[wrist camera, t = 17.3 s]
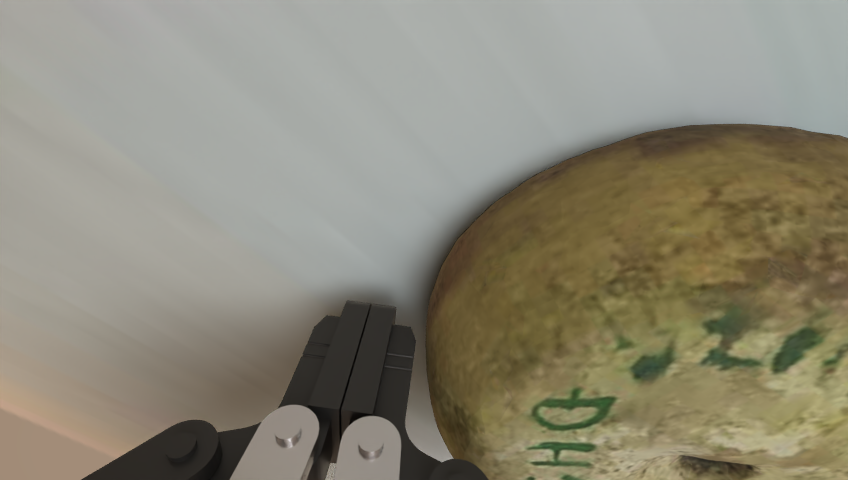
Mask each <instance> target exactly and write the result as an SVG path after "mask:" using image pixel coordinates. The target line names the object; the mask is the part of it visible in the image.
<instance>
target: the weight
mask: <svg viewBox="0 0 848 480" xmlns="http://www.w3.org/2000/svg"><path fill="white" fill-rule="evenodd" d="M426 364H427V377H428V384H429V391H430V399H431V404H432V408H433V413H434V417H435V420H436V423H437V427H438V429H439V432H440V434H441V436H442V438H443V440H444V442H445V444H446V446H447V448H448V450H449V452H450V453H451V455H452V456H453V458H454V459H462V460H466V461H469V462H471V463H473V464H474V465H476V466H477V467H478V468H479V469H481V470H482V472H483V473H484V474H485V475H486V477H487V478H488V480H848V138H846V137H843V136H839V135H832V134H824V133H816V132H810V131H805V130H801V129H796V128H792V127H781V126H769V125H754V124H710V125H689V126H682V127H676V128H670V129H664V130H658V131H652V132H646V133H643V134H640V135H637V136H633V137H630V138H627V139H624V140H622V141H619V142H616V143H614V144H611V145H608V146H604V147H601V148H598V149H594V150H591V151H589V152H586V153H584V154H581V155H579V156H577V157H574V158H571V159H568V160H566V161H564V162H562V163H560V164H558V165H556V166H554V167H552V168H550V169H548V170H545V171H543V172H540V173H539V174H537V175H535V176H533V177H532V178H530V179H528V180H527V181H525V182H524V183H522V184H521V185H520V186H518V187H517V188H515V189H514V190H513V191H511V192H510V193H508V194H506V195H505V196H503V197H502V198H501V199H499V200H498V201H496V202H495V203H494V204H492V205H491V206H490V207H489V208H488V209H487V210H486V211H485V212H484V213H483V214H482V215H481V216H480V217H478V218H477V219H476V221H475V222H474V223H473V224H472V225H471V226H470V227H469V228H468V229H467V230H466V231H465V232H464V233H463V234H462V235H461V236H460V237H459V238H458V239H457V241H456V243H455V244H454V246H453V248H452V249H451V251H450V253H449V254H448V256H447V258H446V259H445V261H444V263H443V265H442V266H441V269H440V272H439V275H438V277H437V280H436V283H435V286H434V288H433V291H432V294H431V298H430V302H429V306H428V314H427V322H426Z"/></svg>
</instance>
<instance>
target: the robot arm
mask: <svg viewBox="0 0 848 480" xmlns="http://www.w3.org/2000/svg"><path fill="white" fill-rule="evenodd" d="M395 318H396V307H392V306H384V305H377V304H369V303H362V302H355V301H347V302H346V304H345V307H344V309H343V312H342V315H341V317H335V316H328V315H327V316H326V317H325V318H324V319H323V320H321V321H320V322H319V323H318V324H317V325H316V326H315V327H314V329H313V332H312V334H311V336H310V338H309V341H308V344H307V345H306V348H305V350H304V352H303V356H302V357H301V359H300V361H299V364H298V366H297V368H296V370H295V373H294V375H293V377H292V380H291V382H290V384H289V386H288V389H287V391H286V393H285V396H284V398H283V400H282V402H281V404H280V406H279V407H278V408H277V409H276V410H274V411H273V412H271V413H270V414H269V415H267V416H266V417H265V418H264V420H263V421H262V422H260V423H258V424H256V425H253V426H251V427H247V428H242V429H236V430H230V431H224V432H218V433H217V431H216V429H215V428H214V427H213V426H212V425H211V424H210V423H208V422H206V421H202V420H188V421H184V422H181V423H178V424H176V425H174V426H172V427H170V428H168V429H166V430H165V431H163V432H161V433H160V434H158V435H156V436H155V437H153V438H151V439H149V440H148V441H146V442H144V443H143V444H141V445H139V446H138V447H136V448H134V449H132V450H131V451H129V452H127V453H126V454H124V455H122V456H121V457H119V458H117V459H115V460H114V461H112V462H110V463H109V464H107V465H105V466H104V467H102V468H100V469H99V470H97V471H95V472H93V473H92V474H90V475H88V476H87V477H85V478H83V479H82V480H325V478H326V475H327V471H328V468H329V464H330V463H336V469H335V474H334V479H333V480H488V478H487V477H486V475H485V474H484V473H483V472H482V470H481V469H479V468H478V467H477V466H476V465H474V464H473V463H471V462H469V461H466V460H462V459H450V460H447V461H444V462H440V461H438V460H436V459H434V458H432V457H430V456H428V455H426V454H425V453H423V452H421V451H420V450H419V449H418V448H416V447H415V446H414V444H413V443H412V442H411V440H410V439H409V437H408V435H407V432H406V428H405V416H406V409H407V402H408V395H409V387H410V380H411V373H412V365H413V358H414V351H415V343H416V340H415V338H414V335H413V332H412V329H411V327H407V326H400V325H395Z"/></svg>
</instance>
